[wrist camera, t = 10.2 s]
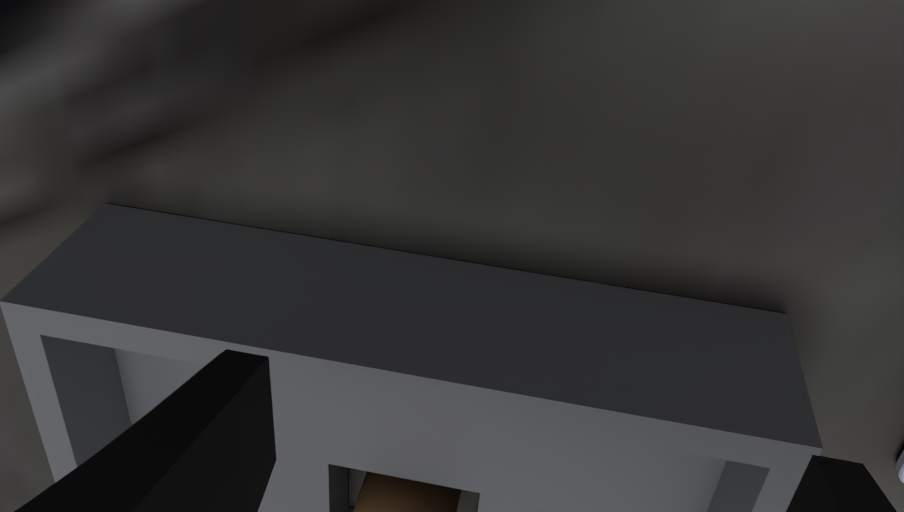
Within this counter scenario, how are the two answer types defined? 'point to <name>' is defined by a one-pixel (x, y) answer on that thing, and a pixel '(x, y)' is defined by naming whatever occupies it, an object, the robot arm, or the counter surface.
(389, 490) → the peg
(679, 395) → the box
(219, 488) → the robot arm
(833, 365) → the counter surface
